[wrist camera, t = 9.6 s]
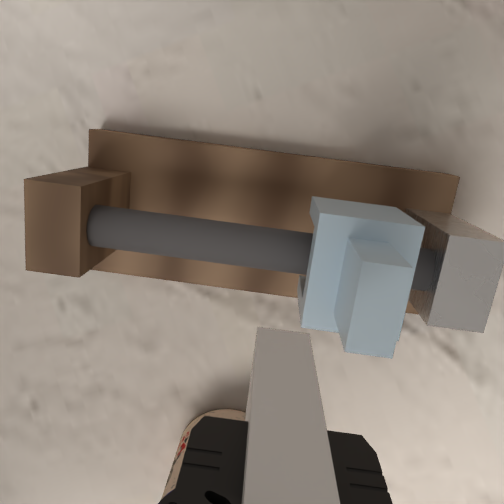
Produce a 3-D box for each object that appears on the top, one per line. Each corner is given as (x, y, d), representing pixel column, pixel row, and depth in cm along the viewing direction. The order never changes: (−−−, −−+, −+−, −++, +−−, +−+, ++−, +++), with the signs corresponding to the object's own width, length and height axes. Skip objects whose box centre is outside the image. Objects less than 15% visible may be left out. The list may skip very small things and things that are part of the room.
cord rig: (97, 261, 35) (26, 312, 25) (100, 129, 32) (23, 129, 22) (417, 304, 34) (471, 374, 24) (448, 173, 31) (523, 194, 22)
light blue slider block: (296, 290, 28) (305, 368, 19) (312, 196, 26) (329, 231, 17) (376, 300, 28) (422, 384, 19) (396, 207, 26) (458, 248, 17)
